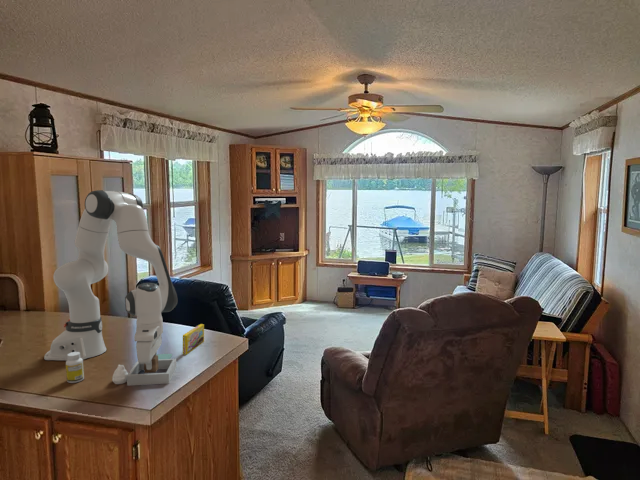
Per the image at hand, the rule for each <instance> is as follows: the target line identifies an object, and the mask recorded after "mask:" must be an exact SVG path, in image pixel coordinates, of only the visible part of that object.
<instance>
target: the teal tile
mask: <svg viewBox="0 0 640 480" xmlns="http://www.w3.org/2000/svg"><path fill="white" fill-rule="evenodd" d="M157 355H158V360H159V359H172V357H173V353H157Z"/></svg>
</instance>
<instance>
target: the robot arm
mask: <svg viewBox="0 0 640 480" xmlns="http://www.w3.org/2000/svg"><path fill="white" fill-rule="evenodd" d="M113 221H114V223H115V224H116V232H117V233H116V234H117V242H118V245H119V248H120V249H121V251H122V252H123V253H125V254H126V255H128V256H131V257H132V258H135V259H139V260H143V261H146V262H147V263H150V264H151V266H152V267H153V269H154V272H155V276H156V278H157V282H158V284H157V283H155V282H143V283H139V284H138V285H137V286H136V288H135V289H132V290H130V291H129V292H128V293H127V294H126V295H125V297H124V299H125V300H124V303H125V304H124V305H125V311H126V312H127V314H130V315H131V316H136V323H135V324H136V325H135V326H136V328H135V330H136V331H135V333H134V336H133V339H134V341H133V342H136V344H135V345H136V346H135V348H136V349H135V350H136V358H137V361H138V362H139V363H140V364H146V369H147V370H151V369H152V361H151V360H152V358H153V356H154V355H157V354H158V350H159V348H160V347H161V345H162V343H163V341H162V339H163V337H162V334H164V325H163V323H164V322H163V316H162V313H169V312H171V311H172V310H173V311H174V308H176V306H177V305H178V300H179V299H178V293H177V291H176V288H175V286H174V283H173V282H172V279H171V275H170V272H169V269H168V266H167V263H166V259H165V257H164V253H163V251H162V249H161V246H159V245H158V244H156V243H155V242H154V241H153V239H152V238H151V236H150V230H149V224H148V221H147V215H146V213H145V210H144V204H143V201H142V198H140V197H139V196H138V195H136V194H134V193H132V192H131V193H127V192H124V191H120V190H119V191H118V190H99V189H98V190H97V189H96V190H93V191H90V192H89V193H88V194H87V195H86V197H85V200H84V210H83V212H82V214H81V217H80V220H79V223H78V227H77V231H76V234H75V240H74V245H75V247H76V248H77V250H78V256H77V259H76V260H73V261H69V262H66V263H64V264H62V265H60V266H59V267H58V268H56V269H55V270H54V273H53V276H52V277H53V282H54V284H55V286H56V287H57V288H58V289H60V290H61V291H62V292H63V293H64V295H65V297H66V300H67V303H68V310H69V312H68V313H69V319H68V320H67V321H65V323H64V324H63V328H65V330H64V331H63V332H62V333H60V334H59V335H57V336H56V337H55V338H54V339H53V340H52V342H51V344H50V350H48V351H47V352H46V353H45V354H44V355H43V356H44V357H43V358H44V360H45V361H67V360H68V358H67V354H69V353H72V352H80V358H82V359H83V361H84V360H86V359H89V358H93V357H96V356H99V355H102V354H103V353H105V352H106V351H107V347H106V344H105V341H104V338H103V337H104V336H103V322H102V317H101V311H100V306H101V305H100V299H99V298H98V297H97V296H96V295H95V294H94V293H93V290H92V287H91V285H92V284H95V283H98V282H100V281H101V280H103V279H104V278H105V277H106V276H107V275H108V273H109V264H108V262H107V261H106V260H105V248H106V244H107V240H108V237H109V232H110V229H111V224H112V222H113Z"/></svg>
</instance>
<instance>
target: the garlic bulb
mask: <svg viewBox="0 0 640 480" xmlns="http://www.w3.org/2000/svg"><path fill="white" fill-rule="evenodd" d="M127 370H128V369H126V368H125V365H124V364H118V365H117V368H116V369H115V370H114V371H113V374H112V378H111V379H112V382H113V384H115V385H122V384H125V383H127V375H128V373H129V372H128V371H127Z"/></svg>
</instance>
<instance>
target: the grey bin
mask: <svg viewBox="0 0 640 480" xmlns="http://www.w3.org/2000/svg"><path fill="white" fill-rule="evenodd" d="M176 369H177V358H171V359H159V360H158V370H166V371H165V372H156V373H140V371H144V364H140V363H139V362H138V360H137V361H136V362H135V363H134V364H133V366H132V368H131V369H130V371H129V372H128V375H127V382H126V386H128V387H129V386H141V385H142V386H145V385H159V384H160V385H162V384H163V385H164V384H165V385H166V384H170V382H171V380H172V378H173V376H174V374H175V372H176Z"/></svg>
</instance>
